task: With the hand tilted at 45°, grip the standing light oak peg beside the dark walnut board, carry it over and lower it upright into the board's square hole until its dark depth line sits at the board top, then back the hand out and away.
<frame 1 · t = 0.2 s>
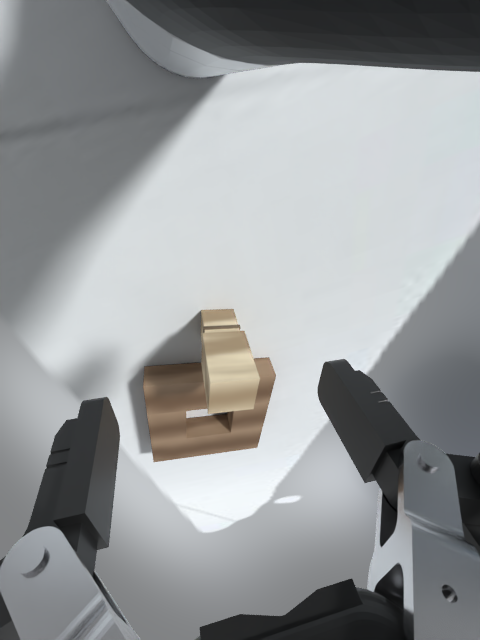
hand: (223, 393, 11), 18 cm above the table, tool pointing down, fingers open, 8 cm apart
oak peg: (216, 322, 32), on the table
walnut board: (207, 403, 41), on the table
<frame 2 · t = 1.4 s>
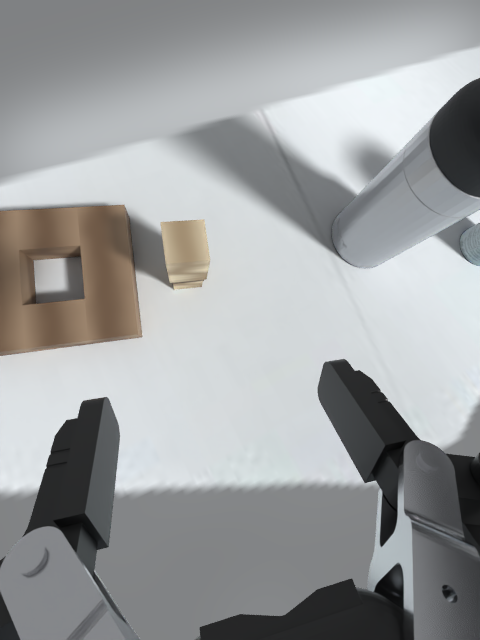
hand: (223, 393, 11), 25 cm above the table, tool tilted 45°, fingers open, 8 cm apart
oak peg: (186, 275, 37), on the table
spray paint can: (475, 247, 45), on the table
walnut board: (63, 282, 34), on the table
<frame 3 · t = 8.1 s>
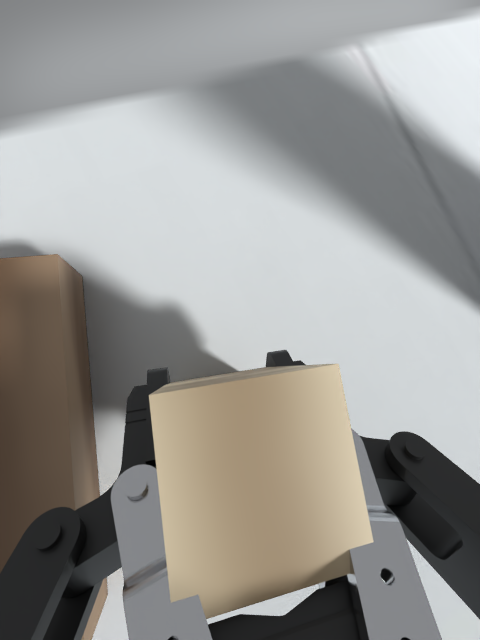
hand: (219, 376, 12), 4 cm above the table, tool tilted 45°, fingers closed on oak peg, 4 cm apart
oak peg: (217, 412, 16), on the table, touching gripper
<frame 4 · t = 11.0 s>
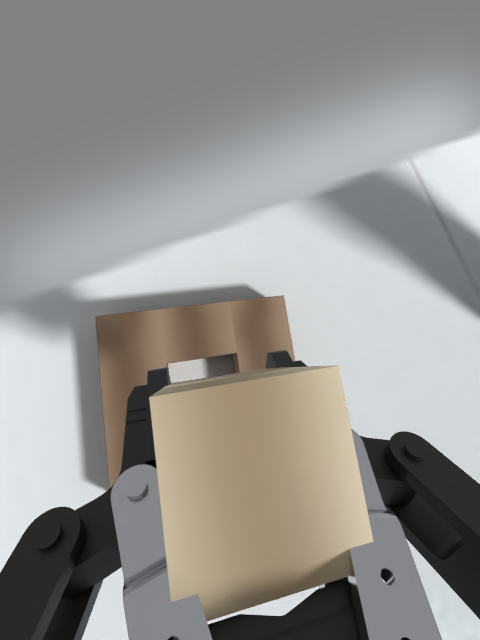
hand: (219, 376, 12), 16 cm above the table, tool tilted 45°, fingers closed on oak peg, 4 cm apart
oak peg: (217, 412, 16), point 12 cm above the table, touching gripper
walnut board: (204, 391, 27), on the table
when the fingers open (5 cm above the table, at t = 14.4 s): oak peg stays where it is, resting in walnut board.
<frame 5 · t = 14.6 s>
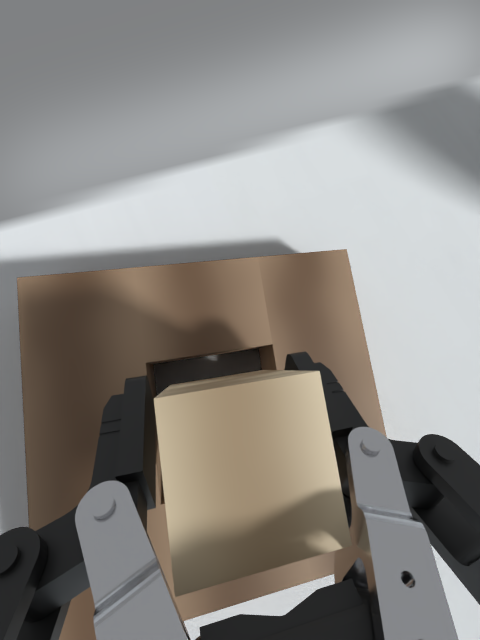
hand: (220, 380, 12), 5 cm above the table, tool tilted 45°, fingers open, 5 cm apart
oak peg: (216, 411, 16), resting in walnut board
walnut board: (214, 409, 16), on the table
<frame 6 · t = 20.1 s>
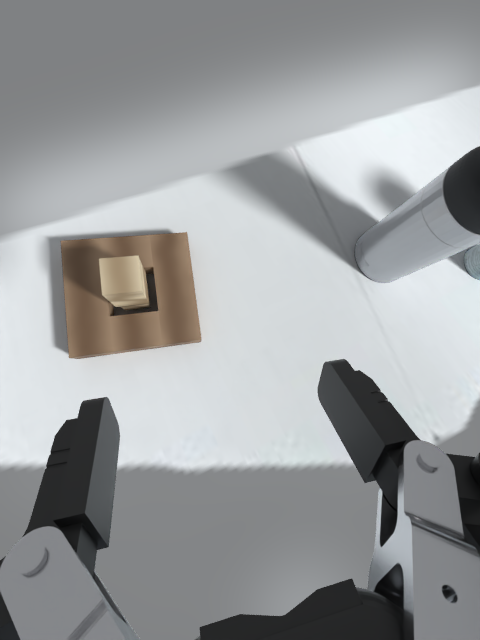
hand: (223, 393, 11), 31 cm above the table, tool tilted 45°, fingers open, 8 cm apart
oak peg: (136, 297, 41), resting in walnut board
spray paint can: (477, 264, 52), on the table
walnut board: (135, 296, 41), on the table
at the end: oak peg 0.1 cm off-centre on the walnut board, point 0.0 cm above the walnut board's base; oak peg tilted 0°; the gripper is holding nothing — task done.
